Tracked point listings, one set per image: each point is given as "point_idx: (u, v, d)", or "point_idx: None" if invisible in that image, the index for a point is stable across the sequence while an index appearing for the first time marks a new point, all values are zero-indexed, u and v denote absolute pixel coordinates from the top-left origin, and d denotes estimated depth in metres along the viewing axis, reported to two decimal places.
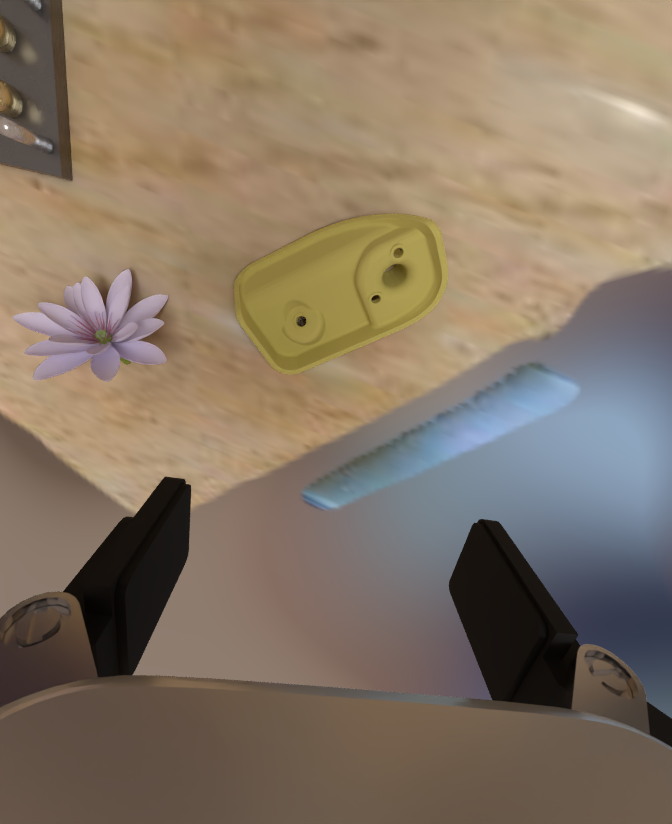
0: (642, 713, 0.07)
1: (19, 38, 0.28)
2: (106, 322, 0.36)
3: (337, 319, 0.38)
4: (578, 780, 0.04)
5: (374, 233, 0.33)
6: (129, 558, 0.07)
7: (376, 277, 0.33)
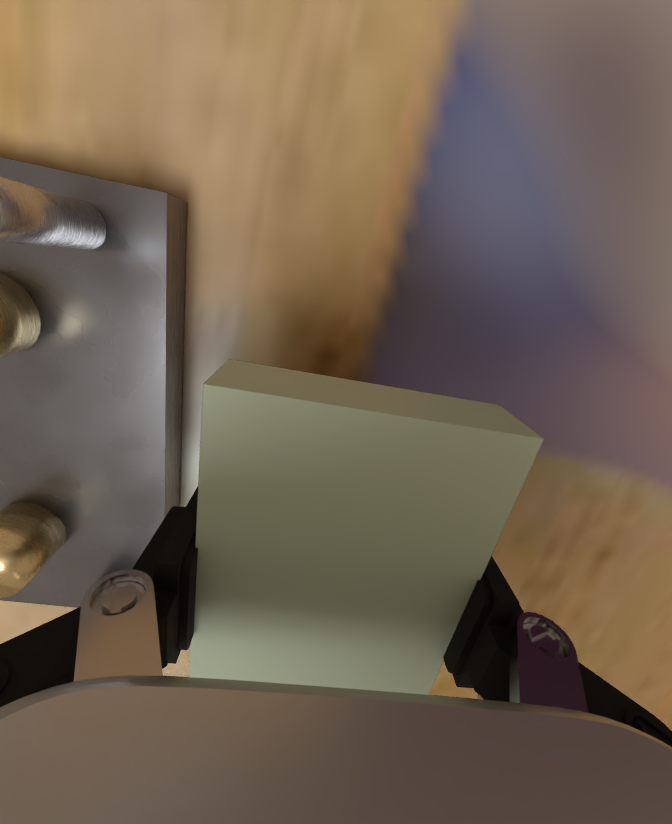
0: (575, 669, 0.07)
1: None
2: None
3: None
4: (578, 780, 0.04)
5: None
6: (190, 540, 0.08)
7: None
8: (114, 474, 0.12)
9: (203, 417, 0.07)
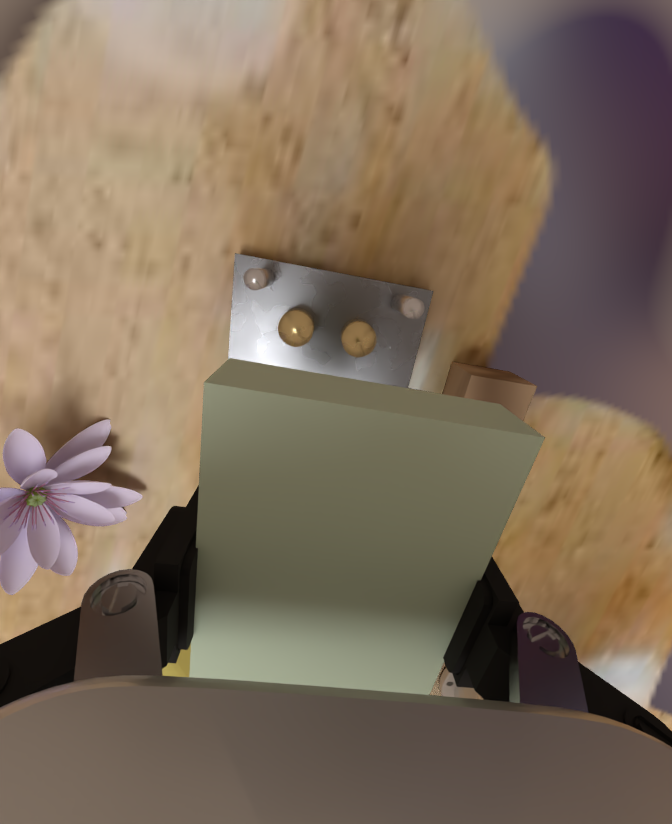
0: (575, 669, 0.07)
1: None
2: (62, 488, 0.28)
3: None
4: (578, 780, 0.04)
5: None
6: (190, 540, 0.08)
7: None
8: None
9: (204, 415, 0.07)
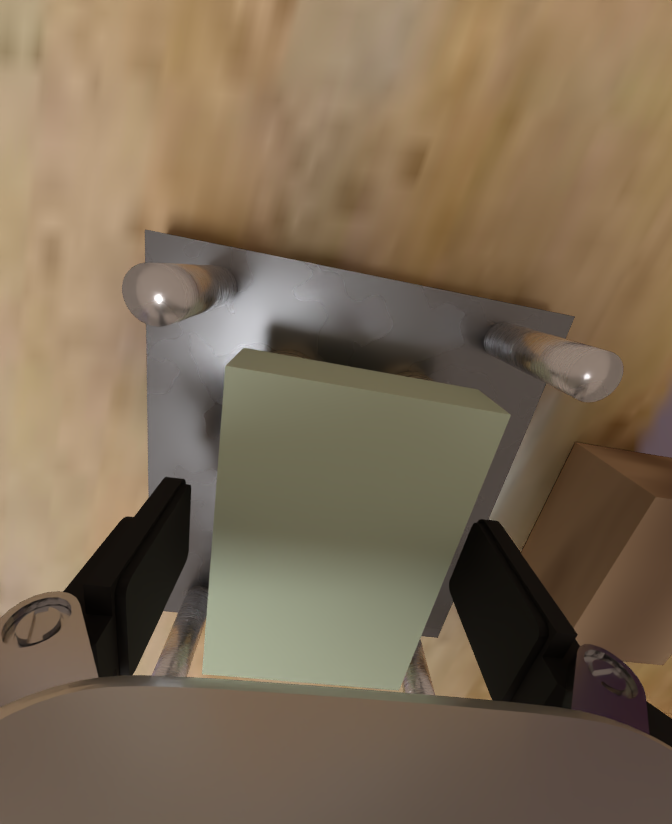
0: (642, 713, 0.07)
1: None
2: None
3: None
4: (578, 780, 0.04)
5: None
6: (129, 558, 0.07)
7: None
8: None
9: (224, 394, 0.08)
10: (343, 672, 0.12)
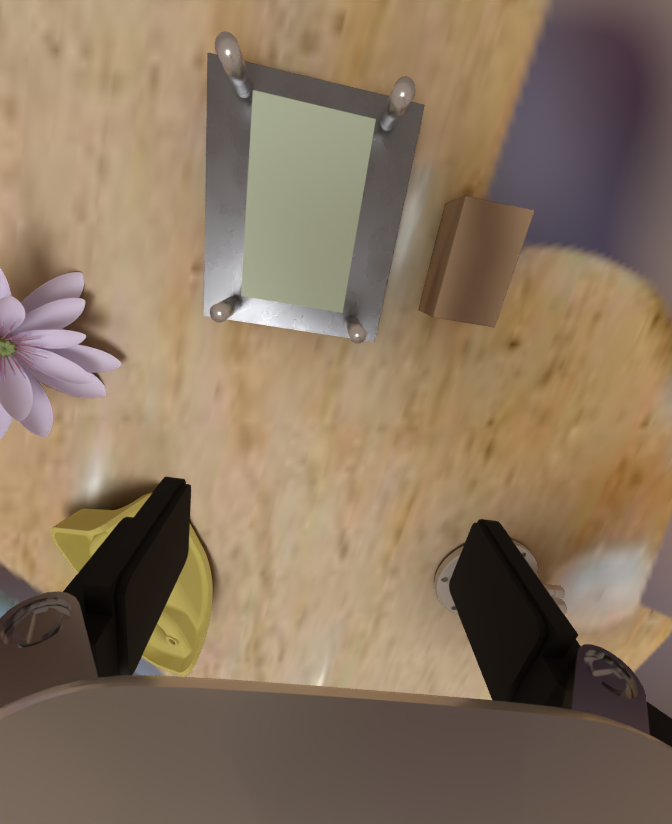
0: (642, 713, 0.07)
1: None
2: (32, 343, 0.27)
3: None
4: (578, 780, 0.04)
5: (194, 613, 0.38)
6: (129, 558, 0.07)
7: None
8: (371, 248, 0.27)
9: (252, 106, 0.20)
10: (312, 297, 0.24)
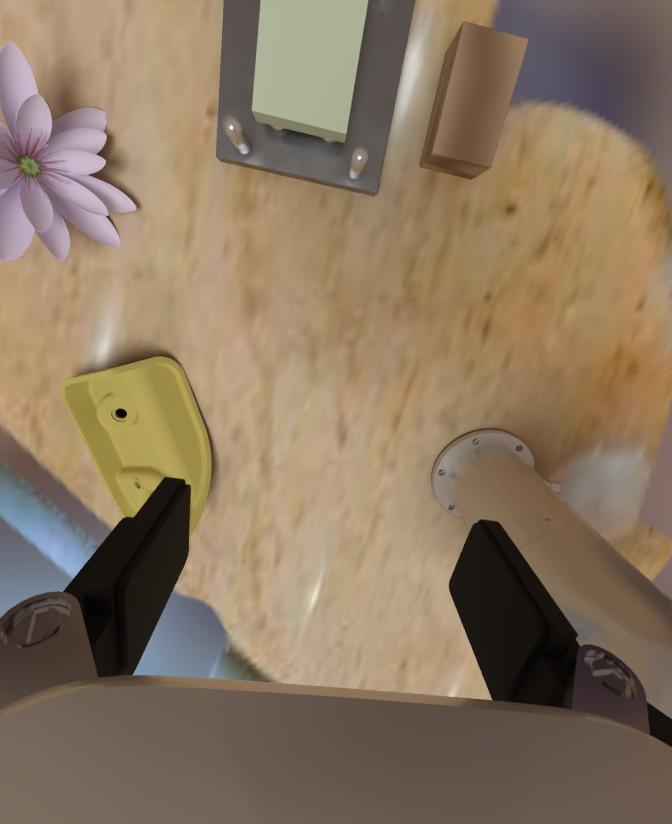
0: (642, 713, 0.07)
1: (328, 146, 0.30)
2: None
3: (125, 443, 0.39)
4: (578, 780, 0.04)
5: (192, 488, 0.39)
6: (129, 558, 0.07)
7: (153, 490, 0.38)
8: (375, 90, 0.28)
9: None
10: (318, 114, 0.26)
